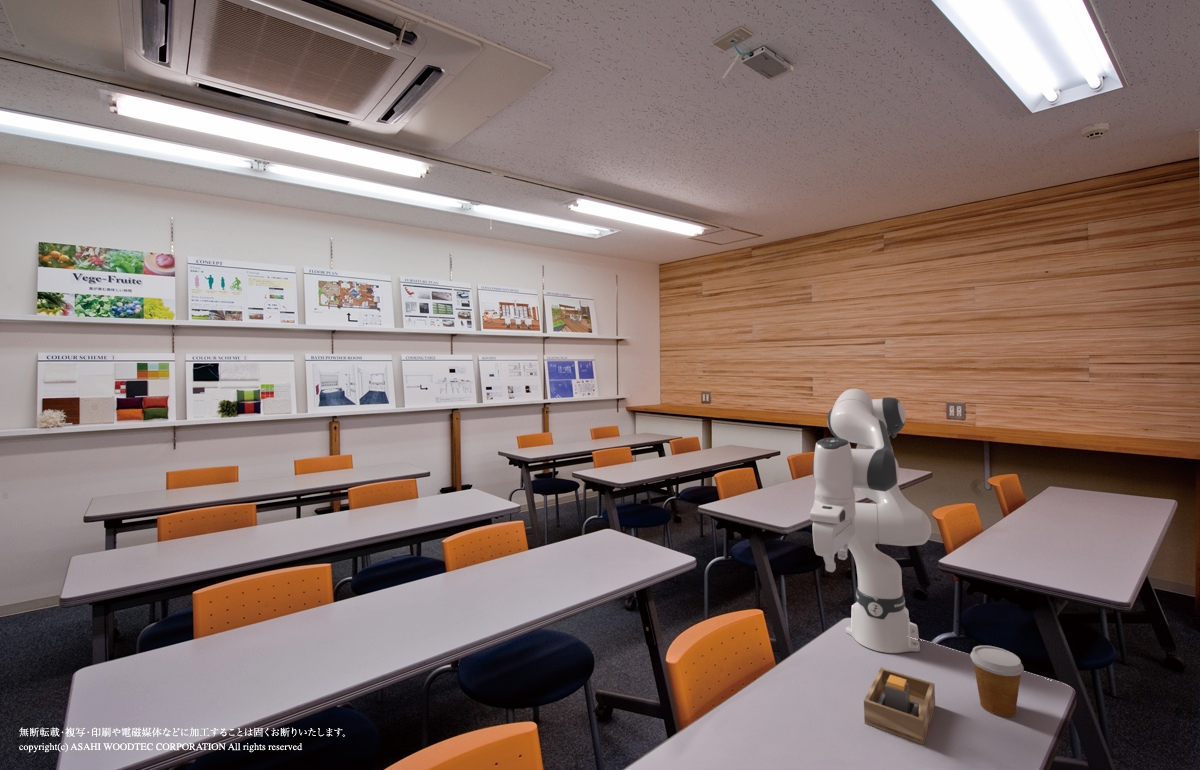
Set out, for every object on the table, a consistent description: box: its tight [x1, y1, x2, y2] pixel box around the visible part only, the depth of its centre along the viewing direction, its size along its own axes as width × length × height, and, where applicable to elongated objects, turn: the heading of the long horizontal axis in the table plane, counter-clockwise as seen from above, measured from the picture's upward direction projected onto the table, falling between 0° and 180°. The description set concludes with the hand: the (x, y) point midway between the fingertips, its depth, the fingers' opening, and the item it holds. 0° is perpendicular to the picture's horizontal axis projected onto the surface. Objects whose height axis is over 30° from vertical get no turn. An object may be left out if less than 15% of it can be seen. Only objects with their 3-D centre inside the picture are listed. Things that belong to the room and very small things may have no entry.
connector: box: [885, 675, 910, 714], centre depth 113 cm, size 4×4×8 cm
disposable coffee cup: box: [969, 645, 1024, 718], centre depth 116 cm, size 10×10×12 cm
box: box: [863, 667, 936, 746], centre depth 115 cm, size 16×11×5 cm
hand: (836, 564), depth 123 cm, fingers open, 8 cm apart
